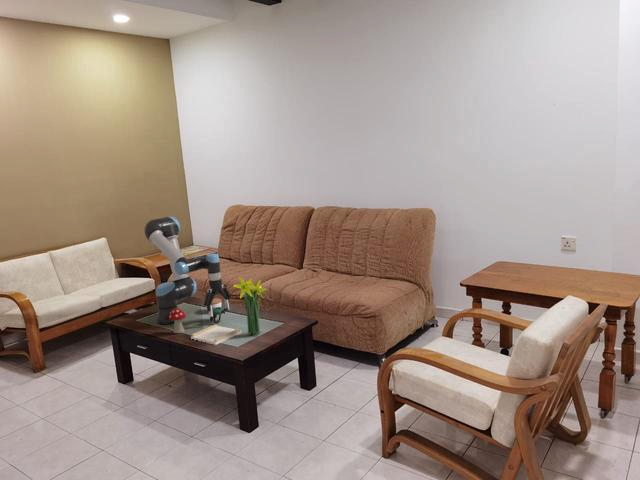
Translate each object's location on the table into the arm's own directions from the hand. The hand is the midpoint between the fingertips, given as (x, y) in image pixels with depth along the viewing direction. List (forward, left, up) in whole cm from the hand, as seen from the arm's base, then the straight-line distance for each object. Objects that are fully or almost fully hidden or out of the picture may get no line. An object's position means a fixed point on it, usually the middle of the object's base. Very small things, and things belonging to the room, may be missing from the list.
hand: (219, 312), depth 311 cm
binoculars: (0, 0, -7) cm, 6 cm away
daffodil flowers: (+34, -6, -6) cm, 35 cm away
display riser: (+16, -18, -6) cm, 25 cm away
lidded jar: (-20, +14, -7) cm, 26 cm away
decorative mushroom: (-9, -24, -6) cm, 27 cm away
